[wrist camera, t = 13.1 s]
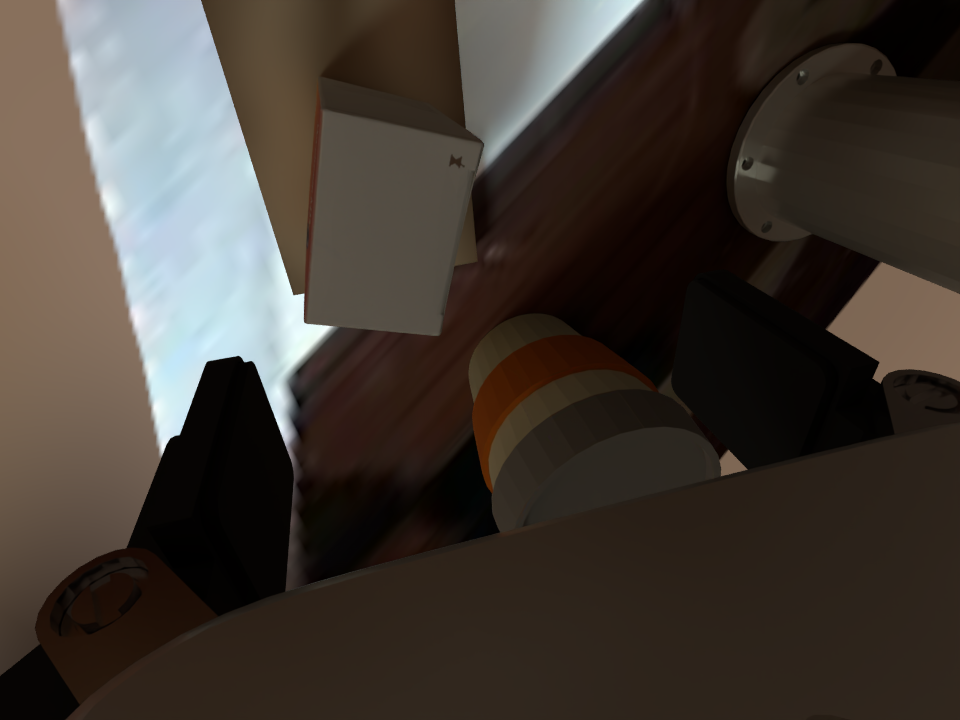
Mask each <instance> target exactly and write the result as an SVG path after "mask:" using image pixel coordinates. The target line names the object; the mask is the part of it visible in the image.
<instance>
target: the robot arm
mask: <svg viewBox="0 0 960 720" xmlns="http://www.w3.org/2000/svg"><path fill="white" fill-rule="evenodd" d="M726 186H727V195H728V201H729V204H730V207H731V210H732V213H733V215H734V216H735V218H736V219H737V221H738V222H739V224H740V225H741V226H743V227H744V228H745V229H746V230H747V231H748V232H750V233H752V234H754V235H756V236H758V237H761V238H763V239H767V240H771V241H791V240H796V239H800V238H803V237H805V236H808V235H811V234H815V235H817V236H820V237H822V238H825V239H827V240H829V241H832V242H834V243H837V244H839V245H842V246H844V247H847V248H849V249H851V250H854V251H856V252H859V253H861V254H864V255H866V256H869V257H871V258H873V259H876V260H878V261H881V262H883V263H886V264H888V265H891V266H893V267H895V268H898V269H900V270H903V271H905V272H908V273H910V274H913V275H915V276H917V277H920V278H922V279H925V280H927V281H930V282H932V283H935V284H937V285H939V286H942V287H944V288H947V289H949V290H952V291H954V292H957V293H959V294H960V81H950V80H938V79H925V78H913V77H900V76H897V75H896V72H895V69H894V67H893V65H892V64H891V62H890V61H889V59H888V58H887V56H885V55H884V54H883V53H881V52H880V51H879V50H877V49H876V48H874V47H871V46H868V45H865V44H859V43H838V44H829V45H826V46H823V47H820V48H817V49H815V50H812V51H810V52H808V53H806V54H805V55H803V56H801V57H800V58H798V59H796V60H794V61H793V62H792V63H791V64H789V65H788V66H787V67H786V68H785V69H783V70H782V71H781V72H780V73H779V74H777V75H776V76H775V77H774V79H773V80H772V81H771V82H770V83H769V84H768V85H767V86H766V87H765V88H764V90H763V91H762V92H761V93H760V95H759V96H758V98H757V99H756V100H755V102H754V103H753V105H752V106H751V108H750V109H749V111H748V113H747V115H746V116H745V118H744V120H743V122H742V124H741V126H740V128H739V130H738V133H737V135H736V138H735V141H734V143H733V146H732V149H731V153H730V158H729V162H728V167H727V182H726ZM878 364H879V362H878V361H877V360H875V359H873V358H872V357H870V356H869V355H867V354H865V353H864V352H862V351H860V350H859V349H857V348H855V347H854V346H852V345H850V344H849V343H847V342H845V341H844V340H842V339H840V338H838V337H837V336H835V335H833V334H832V333H830V332H829V331H827V330H825V329H824V328H822V327H820V326H819V325H817V324H815V323H814V322H812V321H810V320H809V319H807V318H805V317H804V316H802V315H800V314H799V313H797V312H795V311H794V310H792V309H790V308H789V307H787V306H785V305H784V304H782V303H781V302H779V301H777V300H776V299H774V298H772V297H771V296H769V295H767V294H766V293H764V292H762V291H761V290H759V289H757V288H756V287H754V286H752V285H751V284H749V283H747V282H746V281H744V280H742V279H741V278H739V277H737V276H736V275H734V274H732V273H731V272H729V271H727V270H724V269H723V270H717V271H711V272H706V273H700V274H698V275H696V276H695V278H694V280H693V281H692V282H690V283H689V285H688V287H687V291H686V297H685V303H684V309H683V315H682V320H681V326H680V332H679V338H678V343H677V349H676V355H675V361H674V366H673V372H672V378H671V383H672V388H673V390H674V392H675V394H676V395H677V396H678V397H679V398H680V399H681V400H682V401H683V402H684V403H685V404H686V406H687V407H688V408H689V409H690V410H691V411H692V412H693V413H694V414H695V415H696V416H697V417H698V418H699V419H700V420H701V421H702V422H703V423H704V424H705V425H706V426H707V428H708V429H709V430H710V431H711V432H712V433H713V434H714V435H715V436H716V437H717V438H718V439H719V440H720V441H721V442H722V443H723V444H724V445H725V446H726V447H727V448H728V449H729V450H730V452H731V453H733V455H734V456H735V457H736V458H737V459H738V460H739V461H740V462H741V463H742V464H743V465H744V466H745V467H746V468H747V469H748V470H745V471H741V472H737V473H733V474H729V475H725V476H721V477H717V478H713V479H709V480H705V481H701V482H697V483H693V484H689V485H685V486H681V487H677V488H673V489H669V490H665V491H661V492H657V493H653V494H649V495H645V496H641V497H638V498H634V499H630V500H626V501H622V502H618V503H614V504H610V505H606V506H602V507H598V508H594V509H590V510H587V511H583V512H579V513H575V514H571V515H567V516H563V517H559V518H555V519H551V520H547V521H544V522H540V523H536V524H532V525H528V526H524V527H521V528H517V529H513V530H509V531H505V532H501V533H497V534H494V535H490V536H486V537H482V538H478V539H474V540H471V541H467V542H463V543H459V544H455V545H451V546H447V547H444V548H440V549H436V550H432V551H428V552H424V553H421V554H417V555H413V556H409V557H406V558H402V559H398V560H394V561H391V562H387V563H383V564H380V565H376V566H372V567H369V568H365V569H361V570H358V571H354V572H350V573H347V574H343V575H340V576H336V577H333V578H329V579H326V580H322V581H319V582H315V583H312V584H309V585H306V586H302V587H299V588H296V589H293V590H289V591H286V592H285V588H286V575H287V562H288V548H289V535H290V522H291V508H292V495H293V482H294V474H293V467H292V462H291V459H290V457H289V454H288V451H287V449H286V446H285V443H284V441H283V438H282V435H281V433H280V430H279V427H278V425H277V422H276V419H275V417H274V414H273V411H272V409H271V406H270V403H269V401H268V398H267V395H266V393H265V390H264V387H263V385H262V382H261V379H260V377H259V374H258V371H257V369H256V366H255V364H254V363H253V362H252V361H249V362H244V361H243V360H242V358H241V357H240V356H236V357H230V358H224V359H219V360H213V361H208V362H207V363H206V365H205V367H204V370H203V373H202V376H201V378H200V381H199V384H198V387H197V389H196V392H195V395H194V398H193V400H192V403H191V406H190V409H189V411H188V414H187V417H186V420H185V422H184V425H183V428H182V431H181V433H180V435H178V436H174V437H172V438H171V439H170V440H169V442H168V443H167V445H166V448H165V450H164V453H163V455H162V458H161V461H160V463H159V466H158V468H157V471H156V473H155V476H154V479H153V481H152V484H151V487H150V489H149V492H148V494H147V497H146V499H145V502H144V504H143V507H142V510H141V512H140V515H139V517H138V520H137V523H136V525H135V528H134V530H133V533H132V535H131V538H130V541H129V544H128V546H127V548H126V549H120V550H115V551H112V552H109V553H107V554H104V555H101V556H99V557H96V558H95V559H93V560H91V561H89V562H88V563H86V564H85V565H83V566H81V567H79V568H78V569H76V570H75V571H74V572H73V573H71V574H70V575H69V576H68V577H66V578H65V579H64V580H63V581H62V582H61V583H60V584H59V585H58V586H57V587H56V588H55V589H54V590H53V592H52V593H51V594H50V595H49V596H48V597H47V599H46V601H45V603H44V604H43V606H42V608H41V609H40V611H39V613H38V617H37V621H36V626H35V631H36V634H37V638H38V641H39V642H40V645H38V646H37V647H36V648H35V649H33V650H32V651H31V652H30V653H28V654H27V655H26V656H25V657H23V658H22V659H21V660H20V661H18V662H17V663H16V664H15V665H13V666H12V667H11V668H10V669H8V670H7V671H6V672H5V673H3V674H2V675H1V676H0V720H960V382H959V381H957V380H955V379H952V378H949V377H946V376H943V375H940V374H936V373H932V372H927V371H921V370H910V369H909V370H897V371H894V372H890V373H888V374H887V375H886V376H885V377H884V378H883V380H882V382H881V384H880V383H878V382H877V381H875V380H874V379H872V378H873V376H874V374H875V371H876V369H877V367H878Z"/></svg>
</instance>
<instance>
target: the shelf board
mask: <svg viewBox="0 0 960 720" xmlns="http://www.w3.org/2000/svg"><path fill="white" fill-rule="evenodd" d="M201 1H202V5H203V8H204V11H205V14H206V17H207V21H208V24H209V27H210V30H211V33H212V37H213V40H214V43H215V46H216V49H217V53H218V56H219V59H220V62H221V65H222V68H223V72H224V75H225V78H226V81H227V84H228V88H229V91H230V94H231V97H232V100H233V104H234V107H235V110H236V113H237V116H238V120H239V123H240V126H241V129H242V132H243V135H244V139H245V142H246V145H247V148H248V151H249V155H250V158H251V161H252V164H253V167H254V171H255V174H256V177H257V180H258V183H259V187H260V190H261V193H262V196H263V199H264V202H265V206H266V209H267V212H268V215H269V218H270V222H271V225H272V228H273V231H274V234H275V238H276V241H277V244H278V247H279V250H280V254H281V257H282V260H283V263H284V266H285V269H286V273H287V276H288V279H289V282H290V285H291V289H292V292H293V295H298V294H304V293H305V262H306V239H307V218H308V205H309V187H310V175H311V163H312V150H313V136H314V121H315V106H316V91H317V78H318V77H324V78H329V79H333V80H337V81H341V82H345V83H349V84H353V85H357V86H361V87H365V88H369V89H373V90H377V91H382V92H386V93H390V94H394V95H398V96H402V97H406V98H410V99H414V100H418V101H422V102H427V103H429V104H431V105H432V106H433V107H435V108H436V109H438V110H439V111H440V112H442V113H443V114H444V115H446V116H447V117H449V118H450V119H452V120H453V121H455V122H456V123H457V124H459V125H460V126H462V127H464V128H465V129H466V126H465V114H464V103H463V91H462V80H461V68H460V57H459V45H458V34H457V22H456V11H455V0H201ZM472 262H477V252H476V241H475V229H474V218H473V206H472V195H471V196H470V200H469V203H468V208H467V212H466V216H465V221H464V225H463V230H462V234H461V238H460V243H459V247H458V252H457V256H456V261H455V265H454V266H456V265H461V264H467V263H472Z"/></svg>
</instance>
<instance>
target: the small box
mask: <svg viewBox="0 0 960 720" xmlns="http://www.w3.org/2000/svg"><path fill="white" fill-rule="evenodd" d="M483 148H484V143H483V142H482V141H481V140H480V139H479V138H478V137H476V136H475V135H473V134H472V133H471V132H469V131H468V130H467V129H465V128H464V127H462V126H460V125H459V124H457V123H456V122H455V121H453V120H452V119H450V118H449V117H447V116H446V115H444V114H443V113H442V112H440V111H439V110H438V109H436V108H435V107H433V106H432V105H431V104H429V103H427V102H422V101H418V100H414V99H410V98H406V97H402V96H398V95H394V94H390V93H386V92H382V91H377V90H373V89H369V88H365V87H361V86H357V85H353V84H349V83H345V82H341V81H337V80H333V79H329V78H324V77H318V78H317V91H316V106H315V121H314V136H313V150H312V163H311V175H310V187H309V205H308V218H307V239H306V262H305V295H304V322H305V323H306V324H316V325H327V326H337V327H348V328H359V329H369V330H380V331H391V332H401V333H412V334H423V335H433V336H438V335H440V334H441V331H442V325H443V319H444V313H445V308H446V302H447V297H448V293H449V288H450V283H451V279H452V274H453V270H454V265H455V261H456V256H457V252H458V247H459V243H460V238H461V234H462V230H463V225H464V221H465V216H466V212H467V208H468V203H469V200H470V196H471V191H472V187H473V183H474V179H475V176H476V173H477V170H478V166H479V162H480V158H481V155H482V151H483Z"/></svg>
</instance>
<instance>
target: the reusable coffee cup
mask: <svg viewBox="0 0 960 720" xmlns="http://www.w3.org/2000/svg"><path fill="white" fill-rule="evenodd" d="M469 382H470V386H471V391H472V396H473V400H474V408H473V414H472V418H473V429H474V434H475V439H476V444H477V448H478V453H479V458H480V463H481V468H482V473H483V476H484V479H485V482H486V485H487V487H488V488H489V490H490V491H491V492H492V512H493V515H494V518H495V521H496V524H497V526H498V528H499V530H500V532H505V531H509V530H513V529H517V528H521V527H524V526H528V525H532V524H536V523H540V522H544V521H547V520H551V519H555V518H559V517H563V516H567V515H571V514H575V513H579V512H583V511H587V510H590V509H594V508H598V507H602V506H606V505H610V504H614V503H618V502H622V501H626V500H630V499H634V498H638V497H641V496H645V495H649V494H653V493H657V492H661V491H665V490H669V489H673V488H677V487H681V486H685V485H689V484H693V483H697V482H701V481H705V480H709V479H713V478H717V477H721V466H720V462H719V458H718V454H717V453H716V451H715V450H714V448H713V447H712V445H711V444H710V442H709V441H708V440H707V438H706V437H705V436H704V434H703V433H702V432H701V430H700V429H699V428H698V426H697V425H696V424H695V422H694V421H693V420H692V418H691V417H690V416H689V414H688V413H687V412H686V410H685V409H684V408H683V407H682V406H681V405H680V404H678V403H677V402H676V401H675V400H673V399H672V398H670V397H668V396H665V395H663V394H660V393H659V392H658V390H657V389H656V387H655V386H654V384H653V383H652V382H651V380H649V379H648V378H647V377H646V376H644V375H643V374H642V373H641V372H639V371H638V370H637V369H635V368H634V367H633V366H631V365H630V364H629V363H627V362H626V361H625V360H623V359H622V358H621V357H619V356H618V355H617V354H615V353H614V352H613V351H611V350H610V349H609V348H607V347H606V346H605V345H603V344H602V343H600V342H598V341H596V340H594V339H591V338H589V337H584V336H581V335H580V334H579V333H577V332H576V331H575V330H574V329H572V328H571V327H570V326H568V325H567V324H566V323H565V322H563V321H562V320H560V319H558V318H556V317H554V316H551V315H546V314H525V315H519V316H517V317H514V318H511V319H508V320H506V321H505V322H503V323H501V324H499V325H498V326H496V327H495V328H494V329H492V330H491V331H490V332H489V333H488V334H487V335H486V336H485V337H484V338H483V339H482V340H481V341H480V343H479V344H478V346H477V348H476V349H475V351H474V353H473V356H472V358H471V361H470V366H469Z"/></svg>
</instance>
